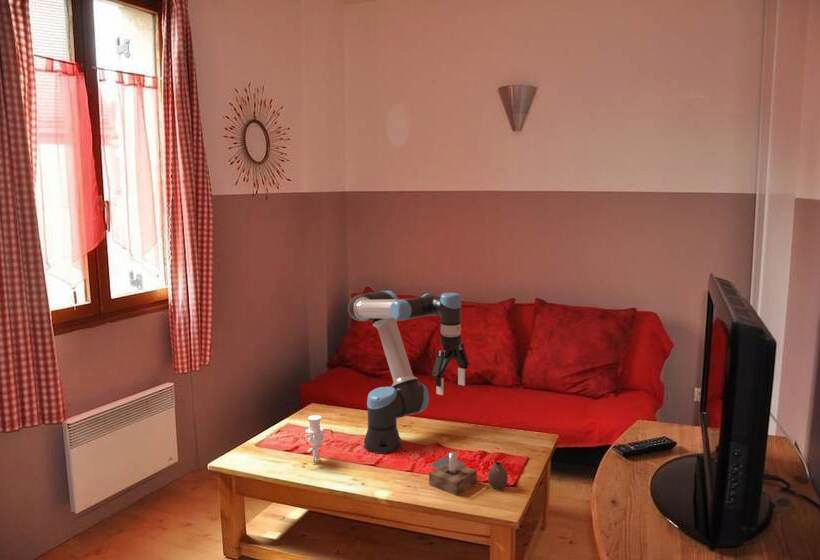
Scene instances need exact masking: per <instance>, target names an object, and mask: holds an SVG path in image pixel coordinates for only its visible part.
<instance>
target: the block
mask: <svg viewBox="0 0 820 560" xmlns="http://www.w3.org/2000/svg"><path fill="white" fill-rule="evenodd" d="M477 473H478V471H477V469H473V468H470V467H467V466H465V465H459V464H457V475H455V476H453V475H450V474H449V462H447V463H446V464H444V465H442V466H440V467H439V468H435V469H434V470H432V471H430V472H429V473H428V475H429V476H428V481H429V482H428V483H429V487H433V488H435V489H438V490H441V491H443V492H446V493H448V494H451V495H454V496H456V497H457V496H459V495H460V494H462V493H464V492H465V491H466V490H467V489H470V488H471V487H472V486H475V485H476V484H477V481H478V478H477V477H478V475H477Z"/></svg>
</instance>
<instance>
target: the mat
mask: <svg viewBox="0 0 820 560" xmlns="http://www.w3.org/2000/svg"><path fill="white" fill-rule="evenodd" d="M447 462H449V456H445V455H444V456H443V457H440V458H439V459H437V460H436V461H434V462H432V463H430V464H429V466H431V467H433V468H435V469H437V468H439V467H440V466H442V465H444V464H446V463H447ZM457 464H459V465H462V466H465V464H467V462H464V461H460V460H458V459H457Z"/></svg>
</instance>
